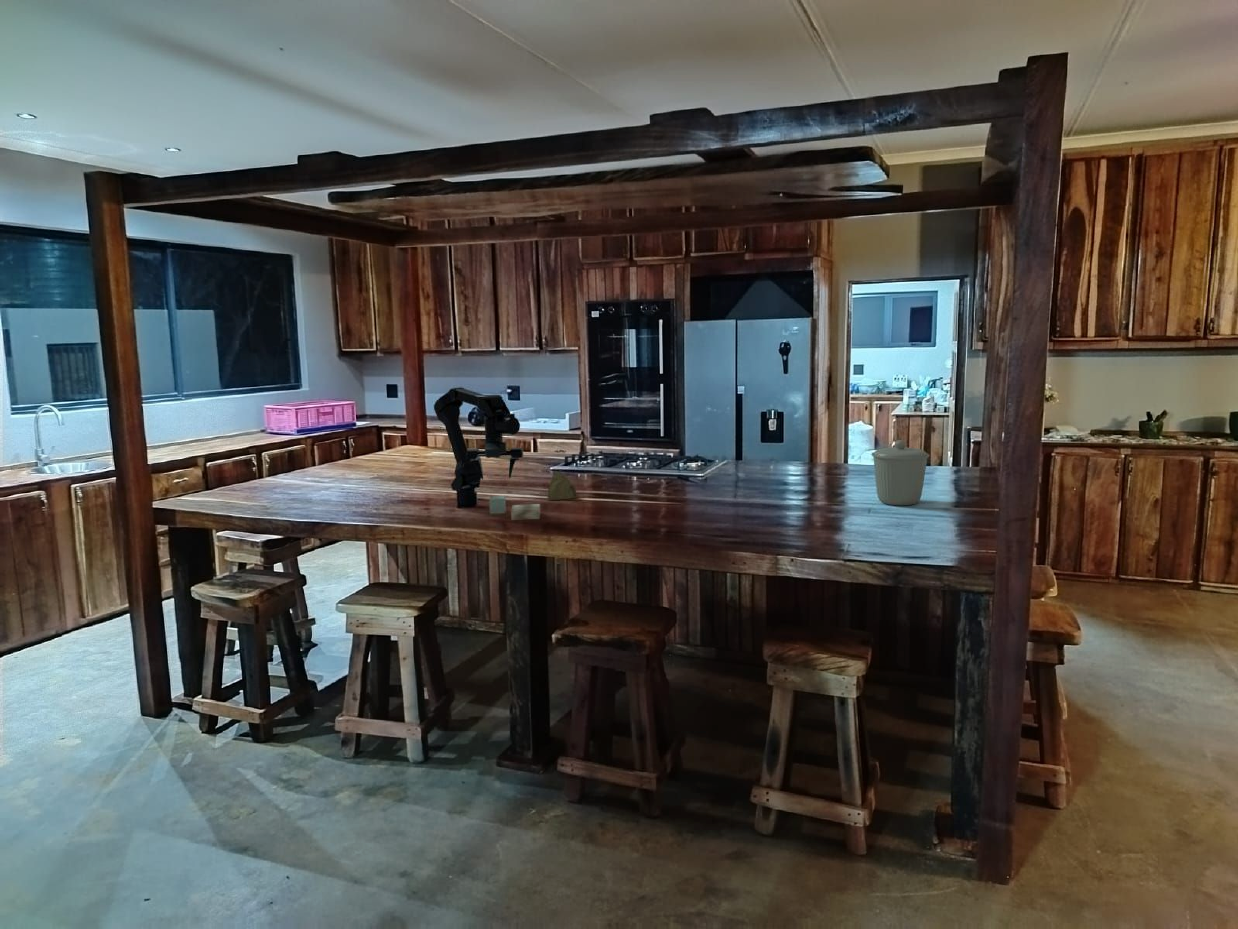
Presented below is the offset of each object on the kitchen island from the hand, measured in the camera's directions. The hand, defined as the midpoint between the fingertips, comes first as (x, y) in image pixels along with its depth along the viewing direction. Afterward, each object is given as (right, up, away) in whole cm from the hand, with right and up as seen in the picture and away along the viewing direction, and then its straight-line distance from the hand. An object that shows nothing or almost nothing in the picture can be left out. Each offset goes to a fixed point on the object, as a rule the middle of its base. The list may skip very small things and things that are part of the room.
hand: (496, 478), depth 273 cm
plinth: (+11, -12, -7) cm, 18 cm away
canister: (+135, -8, -4) cm, 135 cm away
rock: (+21, -8, +21) cm, 31 cm away
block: (0, -11, +2) cm, 12 cm away
